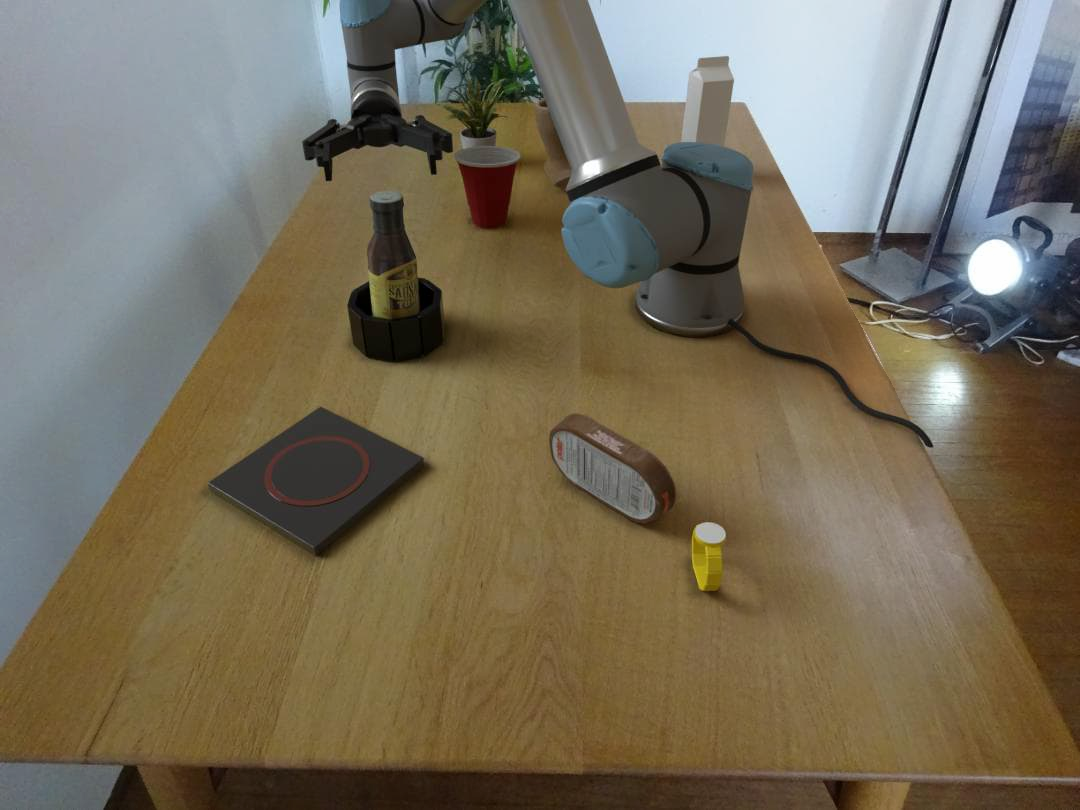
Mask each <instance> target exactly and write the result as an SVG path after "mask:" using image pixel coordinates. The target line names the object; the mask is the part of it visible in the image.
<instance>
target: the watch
mask: <svg viewBox="0 0 1080 810" xmlns="http://www.w3.org/2000/svg"><path fill="white" fill-rule="evenodd" d="M726 540H727V533H726V530H725V529H724V528H723V527H722V526H721V525H719V524H717V523H715V522H711V521H710V522H709V521H705V522H701V523H699V524H697V525H695V527H694V528H693V531H692V536H691V560H692V568H693V572H694V575H695V578H696V581H697V585H698V589H699V590H700V591H703V592H711V591H714V592H715V591H718V590H719V588H720V586H721V585H722V584H721V583H722V578H723V552H722V547H723V545H724V544H725V542H726Z"/></svg>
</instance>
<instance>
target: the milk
mask: <svg viewBox="0 0 1080 810" xmlns="http://www.w3.org/2000/svg"><path fill="white" fill-rule="evenodd" d="M729 63H730V56H728V55H723V56H721V55H720V56H710V57H709V56H707V57H699V58H698V60H697V64H696V65H697V66H696V67H695V68H694V69H692V70H691V71H689V73H688V80H687V88H686V89H687V90H686V98H685V104H684V105H685V108H684V114H683V115H684V116H683V123H682V131H681V139H680V142H699V143H707V144H713V145H718V146H723V147H725V143H726V136H727V130H728V123H729V117H730V110H731V102H732V96H733V89H734V83H735V78H734V75H733V73H732V71H731V68H730V66H729Z"/></svg>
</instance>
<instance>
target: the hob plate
mask: <svg viewBox="0 0 1080 810" xmlns="http://www.w3.org/2000/svg"><path fill="white" fill-rule="evenodd" d="M424 467H425V458H424V457H423V456H421V455H419V454H417V453H415V452H413V451H411V450H409V449H407V448H405V447H403V446H401V445H399V444H397V443H396V442H393V441H391V440H389V439H387V438H385V437H383V436H381V435H379V434H377V433H375V432H373V431H372V430H369V429H366V428H365V427H363V426H361V425H359V424H357V423H355V422H353V421H351V420H348V419H347V418H344V417H343V416H341V415H338V414H336V413H335V412H333V411H331V410H328V409H326V408H324V407H322V406H318V407H317V408H316V409H315V410H313V411H311V412H310V413H309V414H308V415H306V416H304V417H303V418H301V419H300V420H298V421H296V423H294V424H292V425H290V426H289V427H288V428H286V429H285V430H283V431H282V432H280V433H279V434H278V435H276V436H274V437H273V438H272V439H269V441H268V442H265V443H264V444H263V445H262V446H260V447H258V448H257V449H255V450H254V451H253V452H251V453H249V454H248V455H246V456H245V457H244V458H242V459H241V460H239V461H237V462H236V463H235V464H233V465H231V466H230V467H228V468H227V469H225V471H223V472H221V473H220V474H218V475H217V476H215V477H214V478H212V479H211V480H210V481H208V482H207V486H208V488H209V491H210V492H211V493H213V494H214V495H216V496H217V497H219V498H221V499H222V500H224V501H226V502H227V503H229V504H231V505H232V506H234V507H236V508H237V509H239V510H240V511H242V512H244V513H245V514H247V515H249V516H250V517H252V518H253V519H255V520H257V521H258V522H259V523H261V524H264V526H266V527H268V528H270V529H271V530H273V531H275V532H276V533H278V534H280V535H281V536H282V537H284V538H286V539H288V540H289V541H291V542H293V543H294V544H296V545H297V546H298V547H301V548H302V549H303V550H305V551H307V552H308V553H310V554H312V555H313V556H315V557H317V556H318V555H319V554H321V553H322V552H323V551H324V550H325V549H327V548H328V547H329V546H330V545H332V544H333V543H334V542H335V541H336V540H337V539H339V538H340V537H341V536H342V535H344V533H346V532H347V531H348V530H350V529H351V528H352V527H353V526H354V525H355V524H357V523H358V522H359V521H360V520H361V519H362V518H364V517H365V516H366V515H368V514H369V513H370V512H371V511H372V510H373V509H375V508H376V507H377V506H378V505H379V504H380V503H382V502H383V501H385V499H387V497H389V496H390V495H391V494H393V492H395V491H396V490H397V489H398V488H399V487H401V486H402V485H403V484H405V483H406V482H407V481H408V480H409V479H410V478H411V477H412V476H414V475H415V474H416V473H418V472H419V471H420V470H421V469H422V468H424Z"/></svg>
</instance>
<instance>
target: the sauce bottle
mask: <svg viewBox="0 0 1080 810" xmlns="http://www.w3.org/2000/svg"><path fill="white" fill-rule="evenodd" d="M369 207H370V209H371V212H372V220H373V227H372V228H373V234H372V235H371V238H370V240H369V241H368V244H367V247H366V256H367V257H366V258H367V273H368V281H369V284H370V293H371V303H372V313H373V316H375V317H381V318H387V319H394V318H400V317H406V316H411V315H416V314H418V313H419V312H420V303H419V288H418V277H419V276H418V275H419V274H418V261H417V260H418V259H417V256H416V253H415V251H414V248H413V246H412V243H411V241H410V239H409V236H408V234H407V232H406V229H405V228H406V225H405V222H404V207H405V202H404V196H403V194H402V193H401V192H400V191H395V190H379V191H375V192H373V193H372V194H370V196H369Z"/></svg>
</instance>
